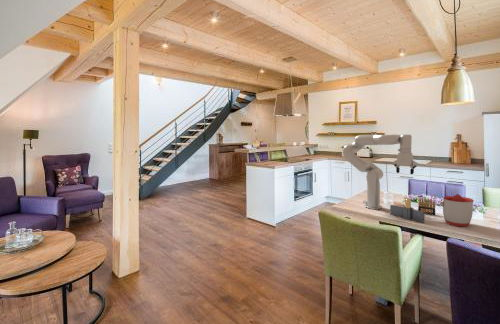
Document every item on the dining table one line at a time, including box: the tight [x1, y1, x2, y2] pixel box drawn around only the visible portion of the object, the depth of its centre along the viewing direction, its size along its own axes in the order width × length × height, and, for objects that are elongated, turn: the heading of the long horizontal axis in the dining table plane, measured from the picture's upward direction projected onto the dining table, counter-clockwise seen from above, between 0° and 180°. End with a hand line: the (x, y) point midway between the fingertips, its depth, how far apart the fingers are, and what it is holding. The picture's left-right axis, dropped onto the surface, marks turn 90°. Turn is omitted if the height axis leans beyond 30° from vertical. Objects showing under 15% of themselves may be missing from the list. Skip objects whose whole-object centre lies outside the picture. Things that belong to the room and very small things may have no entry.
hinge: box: [389, 204, 425, 224], centre depth 183 cm, size 23×8×8 cm, turn 37°
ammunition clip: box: [417, 197, 436, 216], centre depth 191 cm, size 11×2×12 cm, turn 46°
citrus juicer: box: [439, 193, 474, 227], centre depth 168 cm, size 16×17×20 cm
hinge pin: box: [404, 198, 412, 209], centre depth 183 cm, size 3×3×14 cm
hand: (404, 173), depth 195 cm, fingers open, 9 cm apart
